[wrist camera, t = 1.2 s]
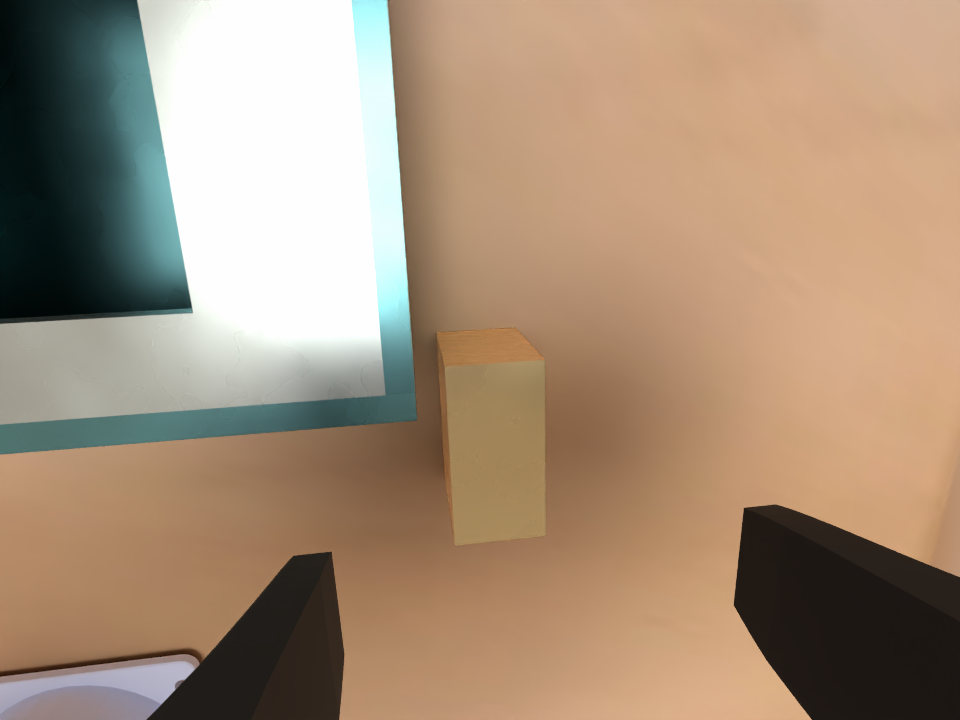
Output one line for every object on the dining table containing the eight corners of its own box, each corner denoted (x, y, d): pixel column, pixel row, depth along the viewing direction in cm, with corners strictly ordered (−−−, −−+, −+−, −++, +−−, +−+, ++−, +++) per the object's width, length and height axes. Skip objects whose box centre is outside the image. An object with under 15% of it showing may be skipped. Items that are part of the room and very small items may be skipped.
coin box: (413, 350, 17) (417, 420, 11) (-7, 378, 16) (-245, 474, 10) (381, -108, 14) (363, -332, 8) (-151, -123, 12) (-624, -408, 7)
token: (517, 469, 19) (545, 535, 15) (444, 476, 18) (454, 546, 15) (514, 327, 17) (545, 360, 14) (436, 331, 17) (444, 366, 13)
